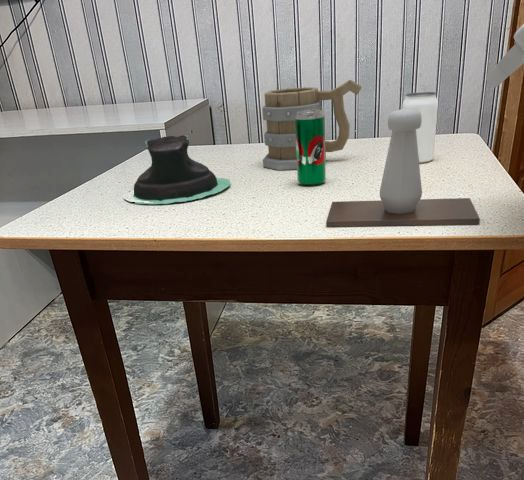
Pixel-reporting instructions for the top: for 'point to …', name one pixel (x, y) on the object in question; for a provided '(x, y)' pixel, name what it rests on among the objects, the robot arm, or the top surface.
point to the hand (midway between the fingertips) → (495, 78)
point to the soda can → (310, 147)
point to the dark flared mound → (175, 174)
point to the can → (424, 122)
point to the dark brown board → (423, 214)
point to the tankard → (283, 121)
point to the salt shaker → (402, 163)
